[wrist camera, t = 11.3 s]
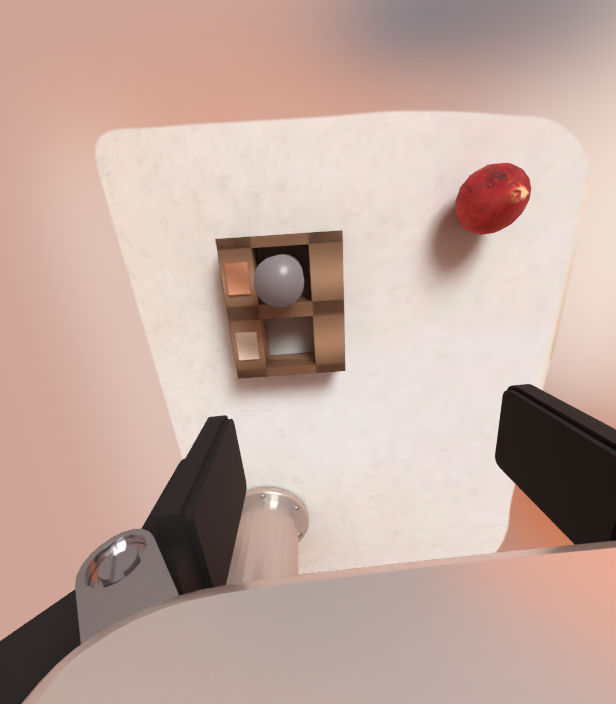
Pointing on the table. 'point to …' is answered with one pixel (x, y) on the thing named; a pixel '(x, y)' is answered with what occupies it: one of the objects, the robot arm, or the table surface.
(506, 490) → the table surface
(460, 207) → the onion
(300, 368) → the socket block
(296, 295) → the plug
